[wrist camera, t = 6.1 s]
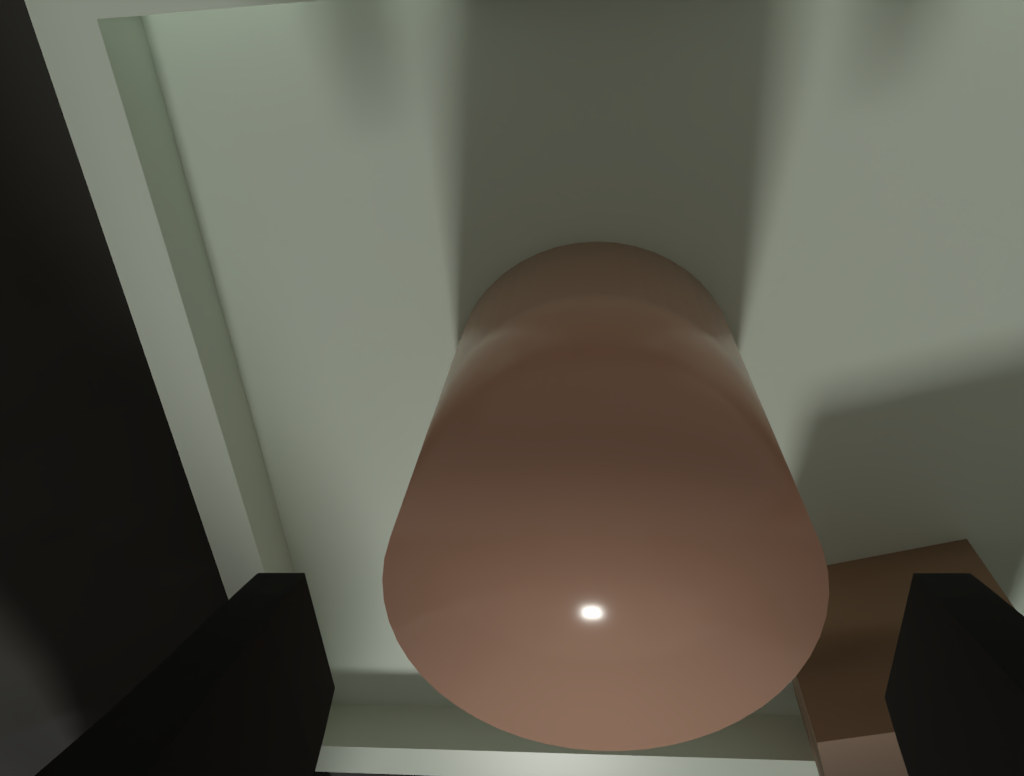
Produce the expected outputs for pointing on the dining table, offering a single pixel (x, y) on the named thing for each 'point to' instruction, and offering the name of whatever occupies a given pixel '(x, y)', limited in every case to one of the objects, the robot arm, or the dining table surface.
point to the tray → (542, 226)
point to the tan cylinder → (603, 515)
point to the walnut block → (867, 657)
